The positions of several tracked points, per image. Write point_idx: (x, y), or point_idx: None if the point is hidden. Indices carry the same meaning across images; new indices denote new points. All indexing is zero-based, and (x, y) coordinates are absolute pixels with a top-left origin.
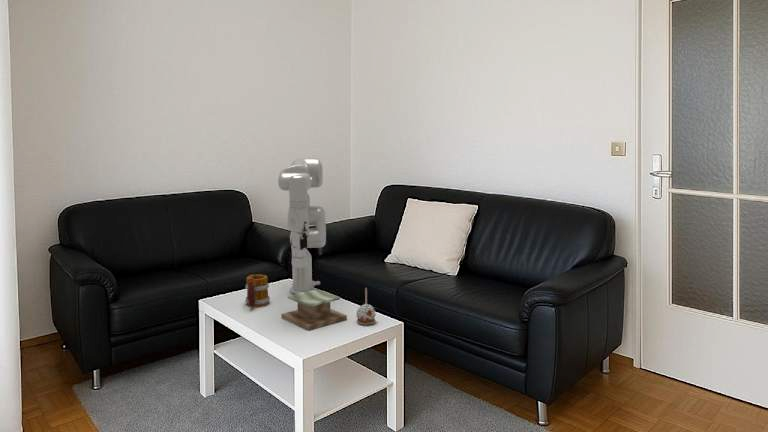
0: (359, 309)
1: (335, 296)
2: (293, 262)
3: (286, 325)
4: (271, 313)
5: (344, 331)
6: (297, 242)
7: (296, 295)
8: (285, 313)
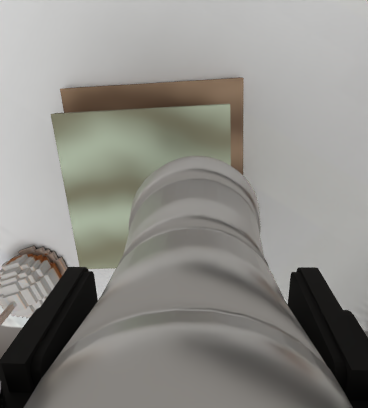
0: (24, 276)
1: (98, 261)
2: (186, 162)
3: (160, 51)
4: (319, 75)
5: (3, 179)
6: (103, 297)
7: (210, 144)
8: (236, 94)
